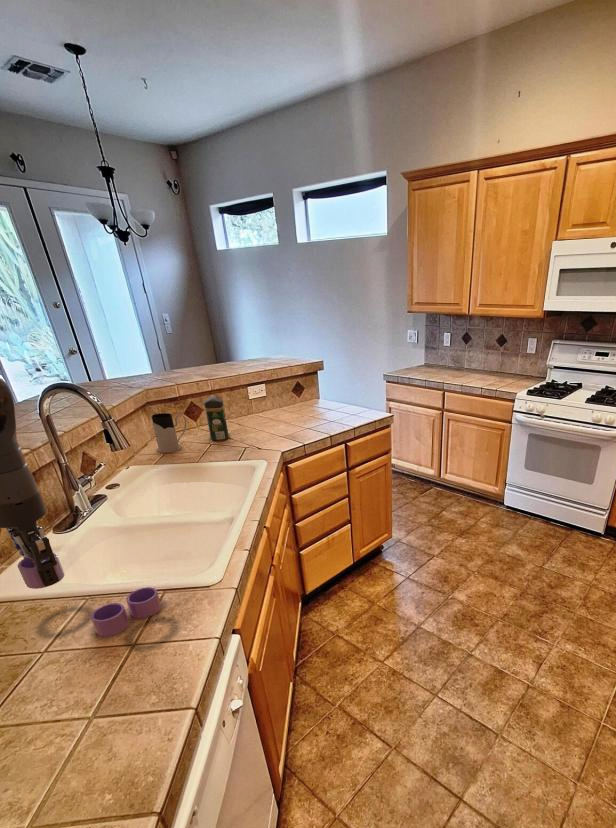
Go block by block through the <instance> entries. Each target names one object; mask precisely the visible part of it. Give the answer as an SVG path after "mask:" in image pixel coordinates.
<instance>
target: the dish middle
mask: <svg viewBox="0 0 616 828" xmlns="http://www.w3.org/2000/svg"><path fill="white" fill-rule="evenodd" d="M90 620H91V623H92V626H93V628H94V631H95V633H96V634H97V635H98V636H99V637H111V636H115V635H118V634H120V633H121V632H123V631H124V630H126V629H127V628H128V626H129V625H130V619H129V616H128V613H127V609H126V607H125V605H124V604H123V603H120V602H111V603H107V604H104V605H101V606H99V607H97V608H96V609H95V610H93V611H92V613H90Z"/></svg>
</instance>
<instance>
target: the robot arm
mask: <svg viewBox="0 0 616 828" xmlns="http://www.w3.org/2000/svg"><path fill="white" fill-rule="evenodd" d="M46 514H47V508H46V506H45V503H44V500H43V498H42V495H41V491H40V490H39V487H38V485H37V482H36V480H35V477H34V475H33V473H32V471H31V470H30V468H29V466H28V464H27V462H26V459H25V456H24V454H23V451H22V449H21V446H20V444H19V442H18V439H17V419H16V408H15V400H14V396H13V393H12V390H11V388H10V386H9V385H8V383H7V381H6V380H5V379H4V378H3V376H2V375H0V529H6V531H7V535H8V536H9V538H10V539H11V542H12V545H13V546H14V549H16V550H17V551H18V554H19V555H20V556H21V557H23V559H25V558H29V559H31V560H32V562H33V564H34V568H35V569H37V572H38V574H39V576H40V579H41V581H42V583H43V585H44V586H46V587H45V588H48V587H50V585H51V586H53V585H56V584H58V583H59V582H60V581H59V579H58V577H57V574H56V572H55V569H54V567H53V566H55V565H57V561H56V560H55V557H54V554H53V553H54V552H53V548H52V546H51V543H50V538H48V537H47V536H45V535H46V534H45V531H44V529H43V527H42V526H38V524H37V522H38V521H39V520H41V519H43V518H44V517H45V516H46ZM44 558H46V559H47V560H44V561H41V559H44ZM58 581H59V582H58ZM55 583H56V584H55ZM47 586H48V587H47Z"/></svg>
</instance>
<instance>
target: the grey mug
mask: <svg viewBox="0 0 616 828" xmlns="http://www.w3.org/2000/svg"><path fill="white" fill-rule="evenodd" d="M150 417H151V421H152V426H153V431H154V435H155V440H156V443H157V447H158V450H157V451H158V452H159V453H174V452H177V451H179V450H180V449H181V446H180V443H179V441H180V440H181V438H182V437H183V435H185V432H186V430H187V419H186V417H185V415H182V414H177V415H176V417H175V419H173V414H172V413H169V412H164V413H155V414H152V415H151V416H150ZM179 417H183V420H184V427H183V431H182V433H181V434H180V436H179V437H178V436H177V430H176V427H177V426H178V418H179ZM174 422H175V423H174Z"/></svg>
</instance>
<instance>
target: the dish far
mask: <svg viewBox="0 0 616 828" xmlns="http://www.w3.org/2000/svg"><path fill="white" fill-rule="evenodd" d="M125 599H126V600H125V601H126V603H127V606H128V609H129V613H130V616H132V617H133V618H134V619H146V618H149V617H152V616H154V615H156V614H157V613H159V611H160V610H161V609H162V603H161V602H162V601H161V599H160V596H159V592H158V589H156V587H151V586H147V587H146V586H145V587H141V588H138V589H135V590H133V591H131V592H130V593H129V594H128V595H127V596H126V598H125Z"/></svg>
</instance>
